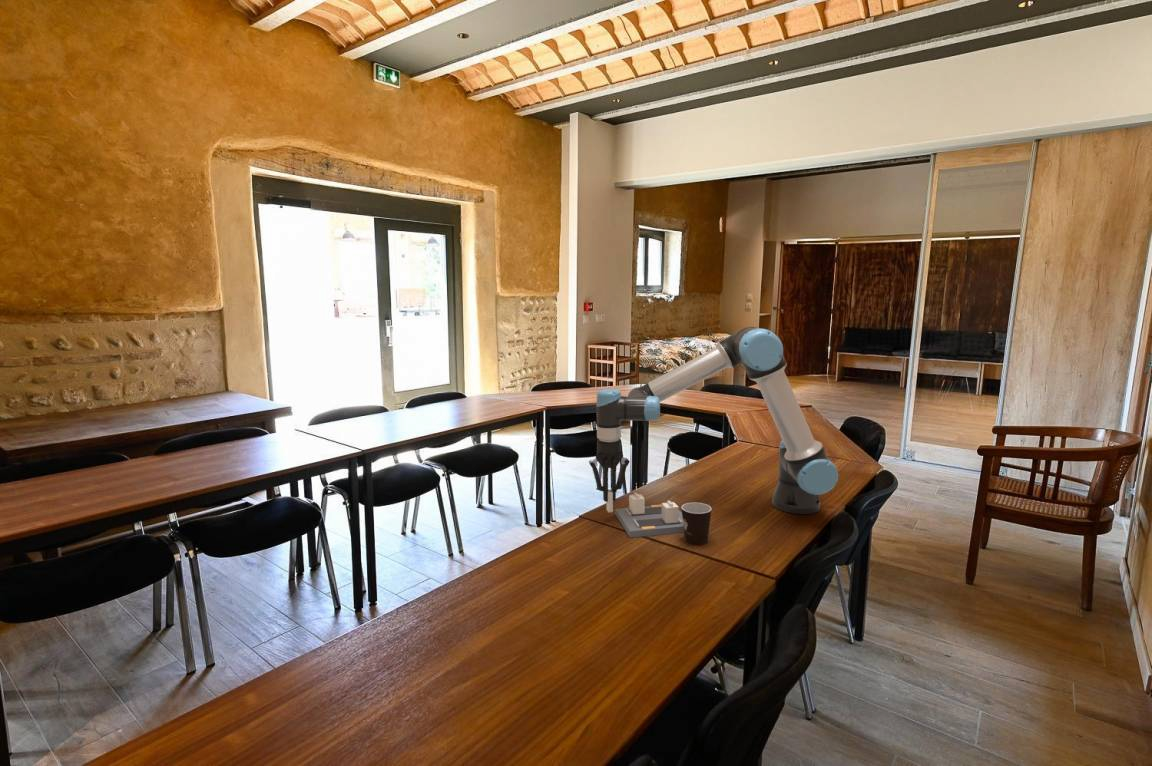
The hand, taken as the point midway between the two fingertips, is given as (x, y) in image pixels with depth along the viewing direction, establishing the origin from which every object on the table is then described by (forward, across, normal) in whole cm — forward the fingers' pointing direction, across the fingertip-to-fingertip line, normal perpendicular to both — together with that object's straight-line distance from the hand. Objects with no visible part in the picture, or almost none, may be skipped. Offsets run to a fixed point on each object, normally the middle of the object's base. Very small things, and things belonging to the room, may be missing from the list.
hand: (609, 510), depth 180 cm
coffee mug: (+4, -22, +18) cm, 29 cm away
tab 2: (+1, -17, +9) cm, 19 cm away
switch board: (+4, -13, +4) cm, 14 cm away
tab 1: (+1, -9, 0) cm, 9 cm away
